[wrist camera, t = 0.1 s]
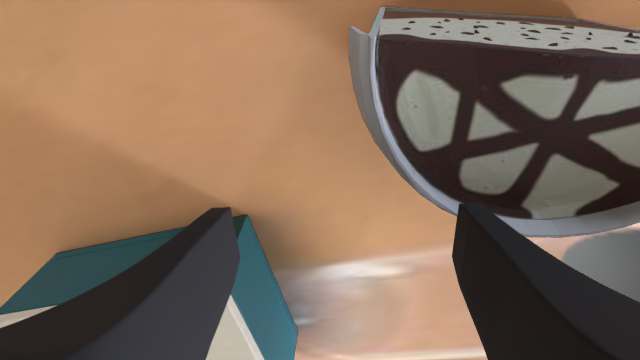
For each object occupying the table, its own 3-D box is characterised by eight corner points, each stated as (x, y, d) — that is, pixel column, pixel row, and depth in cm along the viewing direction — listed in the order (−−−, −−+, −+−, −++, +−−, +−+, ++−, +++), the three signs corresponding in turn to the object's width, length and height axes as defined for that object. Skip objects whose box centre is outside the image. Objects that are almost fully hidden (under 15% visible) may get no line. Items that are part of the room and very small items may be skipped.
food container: (339, 126, 21) (332, 236, 12) (348, 4, 18) (349, 36, 9) (565, 142, 21) (723, 267, 12) (613, 20, 18) (869, 69, 9)
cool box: (298, 331, 29) (288, 403, 24) (132, 354, 32) (93, 424, 27) (247, 213, 24) (222, 275, 20) (56, 252, 27) (-9, 315, 22)
